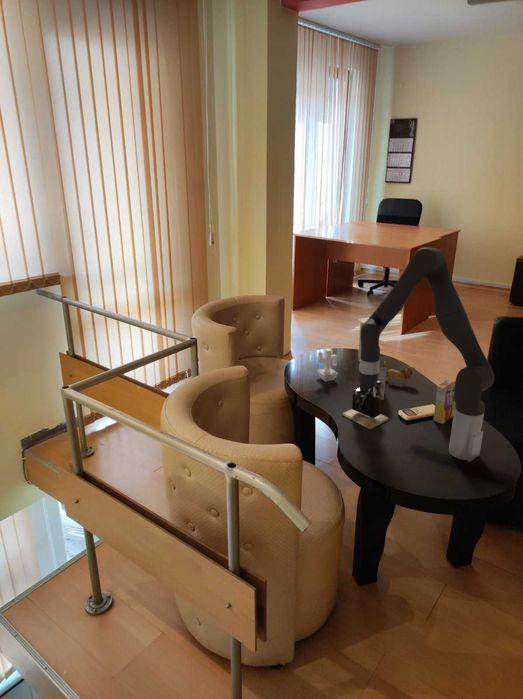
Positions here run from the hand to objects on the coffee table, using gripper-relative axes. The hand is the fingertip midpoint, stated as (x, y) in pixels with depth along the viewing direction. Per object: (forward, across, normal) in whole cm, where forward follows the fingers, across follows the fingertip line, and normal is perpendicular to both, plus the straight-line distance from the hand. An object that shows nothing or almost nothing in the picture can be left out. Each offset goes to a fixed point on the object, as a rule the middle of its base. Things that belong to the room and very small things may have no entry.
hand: (366, 408), depth 198 cm
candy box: (+4, -23, +20) cm, 31 cm away
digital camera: (+1, 0, 0) cm, 1 cm away
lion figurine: (+4, -35, -11) cm, 37 cm away
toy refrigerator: (+4, -45, -38) cm, 59 cm away
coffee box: (+4, -19, -10) cm, 22 cm away
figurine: (+4, -14, -35) cm, 38 cm away
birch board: (+4, 0, 0) cm, 4 cm away
